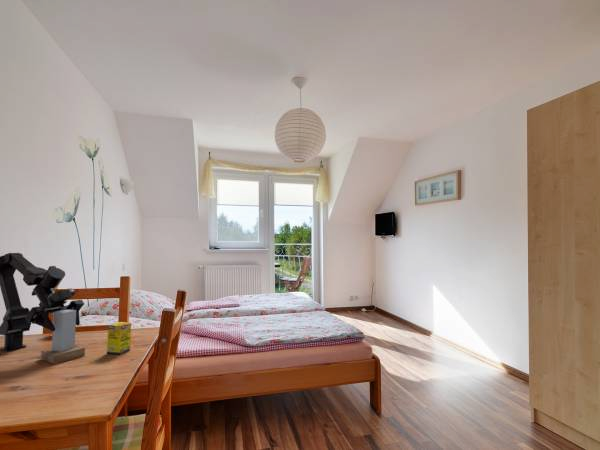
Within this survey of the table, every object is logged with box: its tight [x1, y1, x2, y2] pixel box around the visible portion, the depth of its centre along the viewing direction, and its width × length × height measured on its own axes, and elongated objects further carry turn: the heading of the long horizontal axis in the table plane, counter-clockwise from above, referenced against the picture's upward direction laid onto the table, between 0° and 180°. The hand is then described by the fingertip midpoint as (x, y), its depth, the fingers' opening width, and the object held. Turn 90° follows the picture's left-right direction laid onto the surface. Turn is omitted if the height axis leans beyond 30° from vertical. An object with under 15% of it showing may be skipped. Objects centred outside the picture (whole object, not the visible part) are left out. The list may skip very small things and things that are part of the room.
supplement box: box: [106, 321, 132, 355], centre depth 130 cm, size 6×6×11 cm
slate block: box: [51, 310, 77, 352], centre depth 124 cm, size 5×5×14 cm
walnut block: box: [40, 344, 86, 365], centre depth 123 cm, size 10×10×3 cm
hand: (67, 327), depth 123 cm, fingers open, 9 cm apart
